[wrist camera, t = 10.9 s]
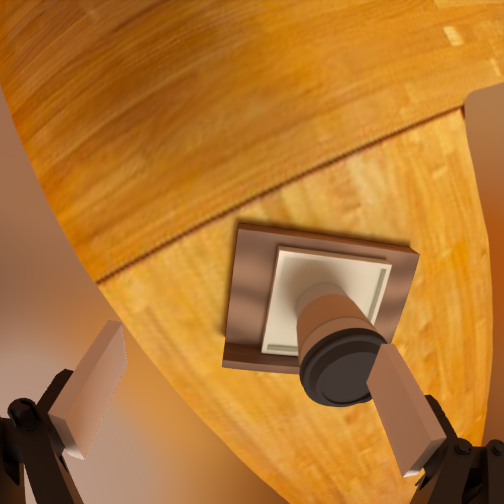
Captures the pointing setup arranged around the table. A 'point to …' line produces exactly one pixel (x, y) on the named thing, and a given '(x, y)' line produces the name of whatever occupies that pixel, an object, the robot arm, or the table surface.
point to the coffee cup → (335, 346)
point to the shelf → (260, 282)
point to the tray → (313, 272)
